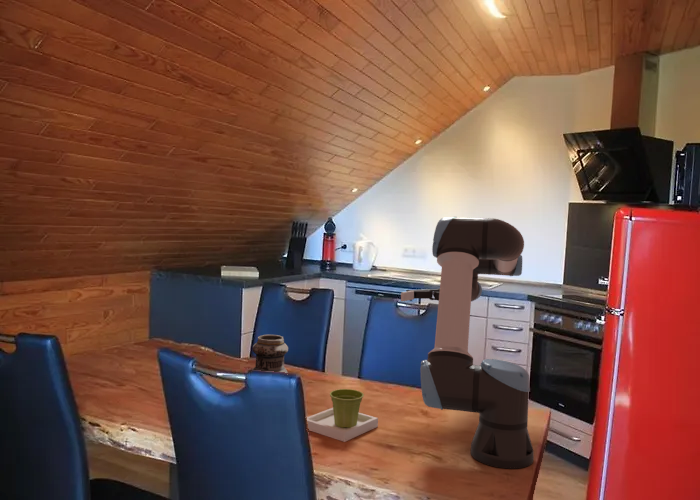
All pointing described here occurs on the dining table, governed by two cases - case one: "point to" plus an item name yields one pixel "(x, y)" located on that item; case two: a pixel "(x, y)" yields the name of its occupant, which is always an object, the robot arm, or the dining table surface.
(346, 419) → the plant pot
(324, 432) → the pot tray
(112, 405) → the dining table surface
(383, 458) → the dining table surface
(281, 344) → the apothecary jar
